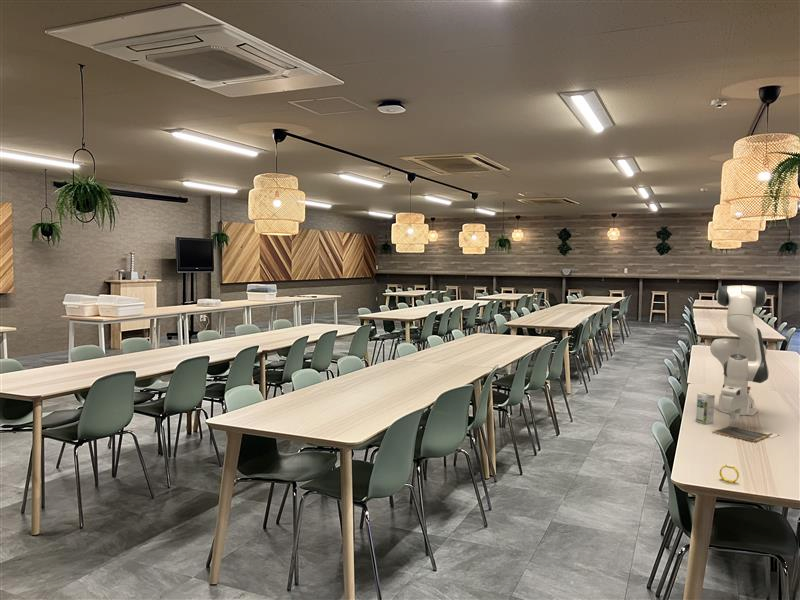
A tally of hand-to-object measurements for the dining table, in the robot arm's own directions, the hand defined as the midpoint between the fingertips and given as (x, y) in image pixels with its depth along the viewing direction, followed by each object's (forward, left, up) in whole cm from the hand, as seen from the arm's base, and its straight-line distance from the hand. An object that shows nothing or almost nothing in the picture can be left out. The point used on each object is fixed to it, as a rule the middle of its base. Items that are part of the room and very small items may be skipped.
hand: (734, 418), depth 275 cm
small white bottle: (0, 0, -4) cm, 4 cm away
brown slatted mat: (+4, +5, -6) cm, 9 cm away
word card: (-6, +13, -6) cm, 16 cm away
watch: (+72, +28, -6) cm, 77 cm away
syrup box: (-3, -15, -6) cm, 17 cm away
